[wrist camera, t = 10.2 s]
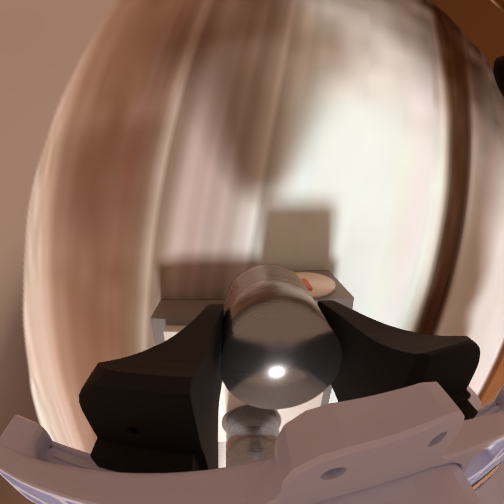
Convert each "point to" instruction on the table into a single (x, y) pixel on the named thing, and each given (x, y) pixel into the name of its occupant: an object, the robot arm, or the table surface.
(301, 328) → the cylinder
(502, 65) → the supplement bottle
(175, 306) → the scale
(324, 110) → the table surface
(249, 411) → the cylinder
